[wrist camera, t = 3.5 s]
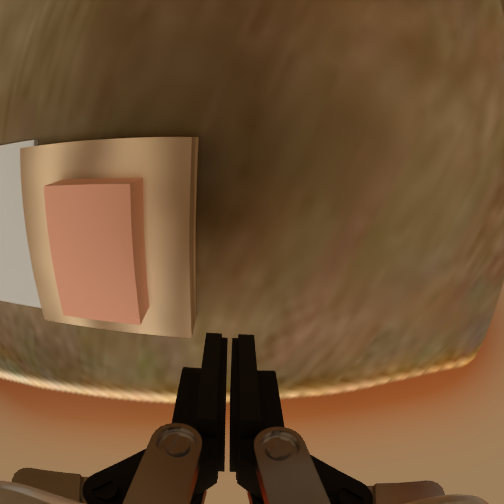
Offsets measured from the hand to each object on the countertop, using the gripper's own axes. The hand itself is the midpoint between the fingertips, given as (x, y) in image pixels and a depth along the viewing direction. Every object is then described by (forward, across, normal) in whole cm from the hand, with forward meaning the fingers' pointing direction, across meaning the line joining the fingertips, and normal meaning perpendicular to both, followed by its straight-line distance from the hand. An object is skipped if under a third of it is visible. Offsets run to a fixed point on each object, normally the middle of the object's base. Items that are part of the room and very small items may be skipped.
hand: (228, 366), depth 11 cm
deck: (+13, +9, -1) cm, 16 cm away
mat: (+13, +22, -1) cm, 26 cm away
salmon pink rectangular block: (+9, +9, -1) cm, 13 cm away
